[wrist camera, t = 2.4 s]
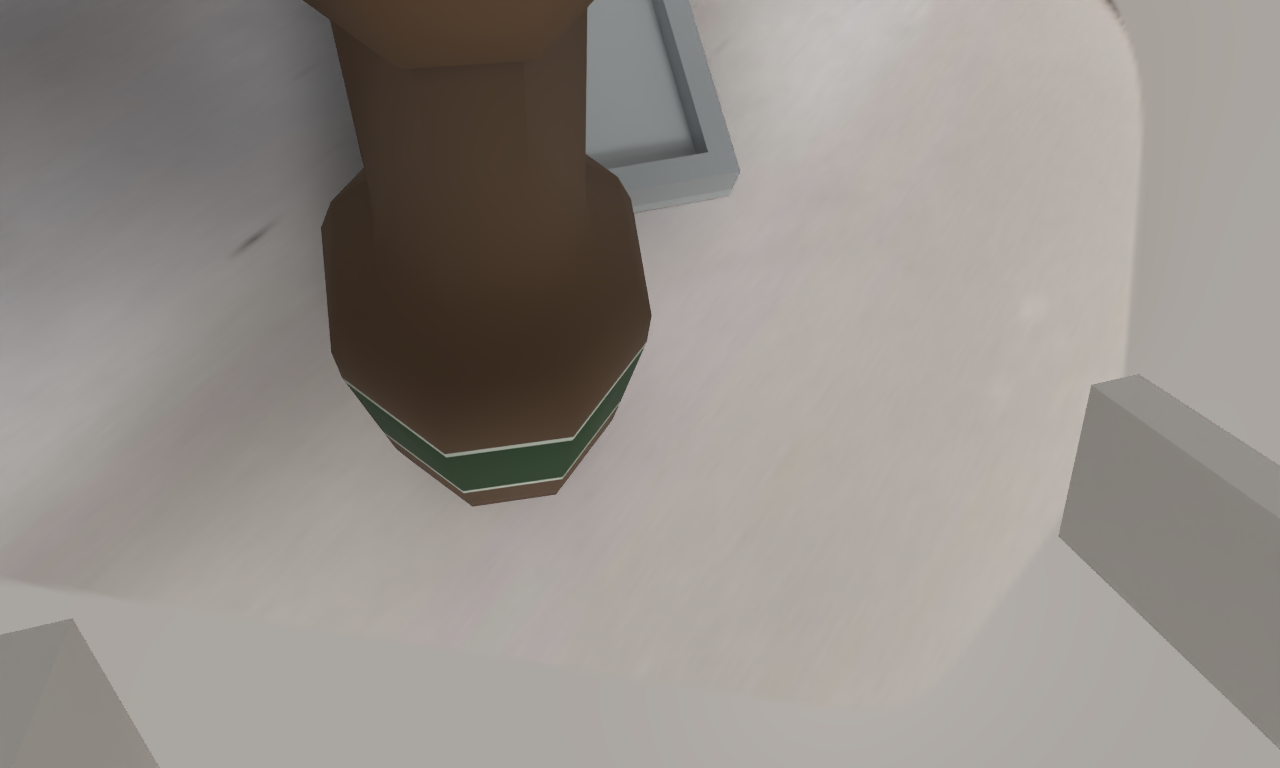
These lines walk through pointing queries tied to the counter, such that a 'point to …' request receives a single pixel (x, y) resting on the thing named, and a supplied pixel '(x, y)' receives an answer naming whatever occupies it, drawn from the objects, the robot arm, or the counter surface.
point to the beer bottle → (480, 243)
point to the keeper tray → (655, 104)
